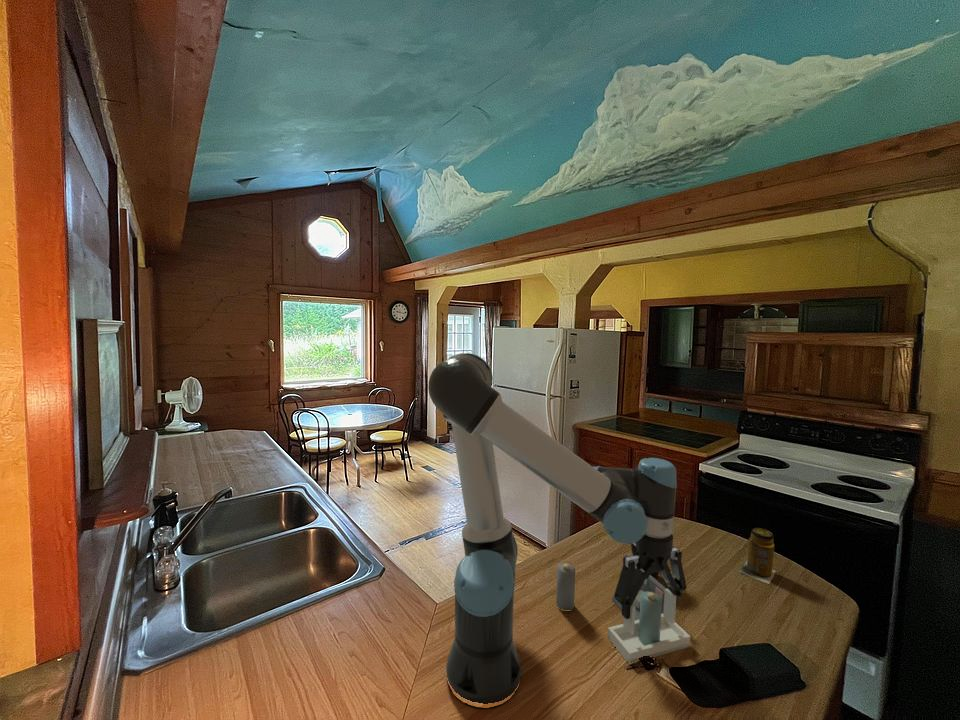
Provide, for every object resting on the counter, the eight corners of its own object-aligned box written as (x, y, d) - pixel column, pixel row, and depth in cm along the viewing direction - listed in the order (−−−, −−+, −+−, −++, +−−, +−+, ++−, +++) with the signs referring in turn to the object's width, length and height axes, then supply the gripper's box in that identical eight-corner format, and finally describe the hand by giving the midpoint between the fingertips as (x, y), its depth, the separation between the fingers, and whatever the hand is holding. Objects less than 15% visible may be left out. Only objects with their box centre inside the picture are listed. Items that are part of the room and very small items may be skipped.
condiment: (776, 571, 119) (779, 532, 118) (769, 584, 113) (772, 543, 112) (746, 560, 124) (750, 523, 123) (738, 572, 118) (742, 533, 117)
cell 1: (561, 613, 101) (562, 572, 100) (553, 601, 106) (554, 562, 104) (577, 609, 103) (578, 569, 102) (568, 598, 107) (569, 559, 106)
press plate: (638, 608, 100) (638, 601, 100) (629, 600, 103) (630, 592, 103) (650, 605, 101) (651, 598, 101) (641, 597, 104) (642, 590, 104)
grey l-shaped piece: (638, 628, 97) (639, 600, 96) (612, 600, 106) (613, 574, 105) (669, 620, 99) (671, 592, 98) (641, 593, 109) (642, 568, 108)
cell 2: (646, 649, 90) (649, 603, 88) (634, 634, 94) (636, 589, 93) (664, 645, 91) (666, 599, 90) (650, 630, 95) (653, 586, 94)
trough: (629, 664, 87) (629, 653, 86) (607, 637, 94) (607, 627, 94) (689, 646, 91) (690, 636, 91) (664, 622, 99) (665, 612, 98)
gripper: (620, 548, 83) (616, 649, 85) (709, 531, 90) (702, 625, 92) (599, 529, 90) (595, 623, 92) (682, 515, 97) (677, 603, 99)
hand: (649, 624), depth 92 cm, fingers open, 10 cm apart
